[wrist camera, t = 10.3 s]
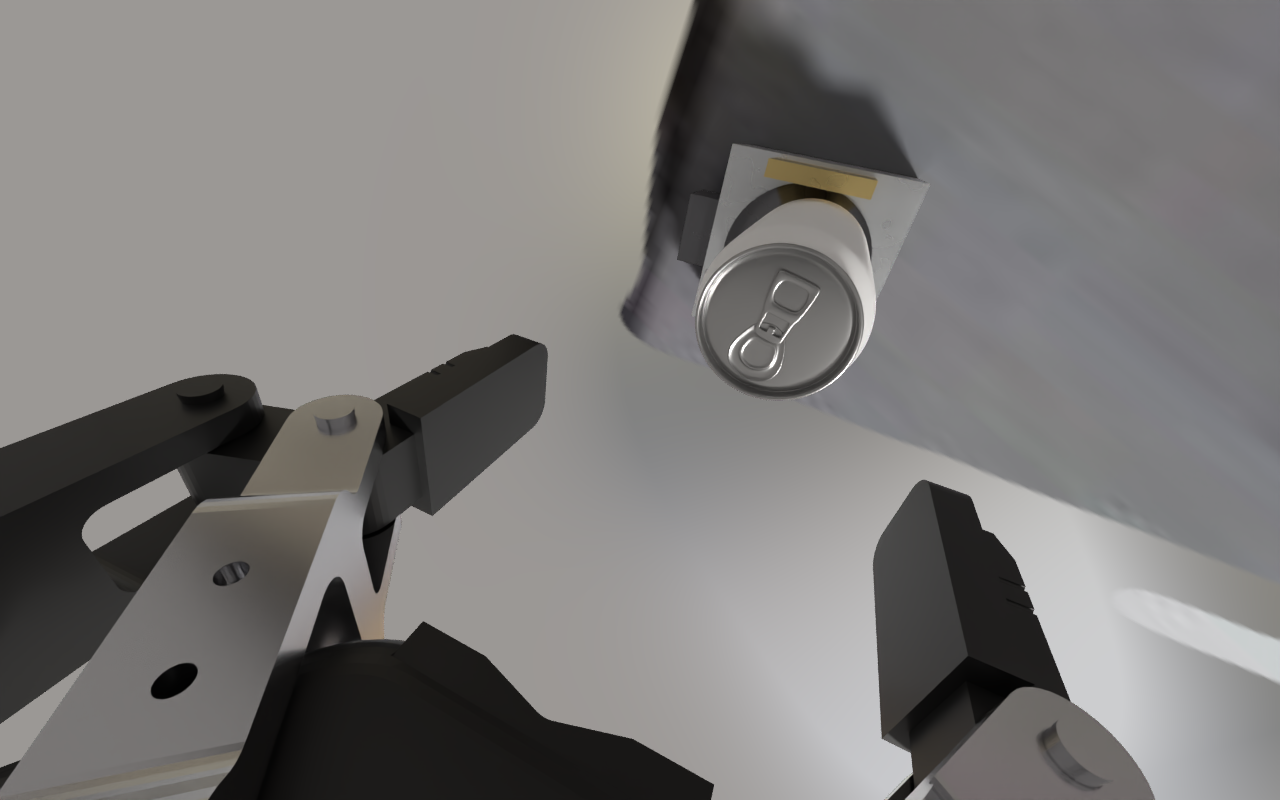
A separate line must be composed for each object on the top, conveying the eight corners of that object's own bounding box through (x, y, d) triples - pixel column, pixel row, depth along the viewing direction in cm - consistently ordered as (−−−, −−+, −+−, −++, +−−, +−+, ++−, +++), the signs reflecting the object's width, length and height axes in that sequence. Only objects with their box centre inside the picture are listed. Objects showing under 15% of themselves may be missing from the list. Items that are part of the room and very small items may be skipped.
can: (726, 286, 28) (658, 360, 18) (779, 176, 24) (730, 194, 14) (824, 335, 27) (809, 441, 17) (895, 228, 23) (927, 285, 13)
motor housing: (719, 137, 29) (680, 134, 23) (918, 178, 26) (940, 188, 20) (685, 288, 34) (646, 321, 28) (847, 336, 32) (846, 384, 25)
